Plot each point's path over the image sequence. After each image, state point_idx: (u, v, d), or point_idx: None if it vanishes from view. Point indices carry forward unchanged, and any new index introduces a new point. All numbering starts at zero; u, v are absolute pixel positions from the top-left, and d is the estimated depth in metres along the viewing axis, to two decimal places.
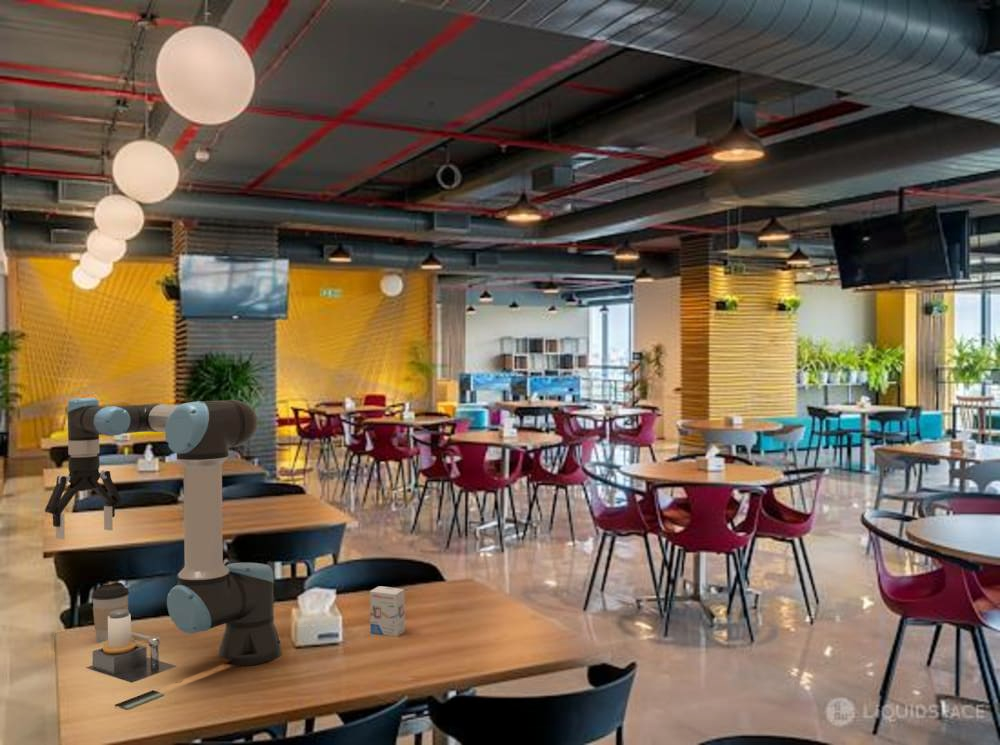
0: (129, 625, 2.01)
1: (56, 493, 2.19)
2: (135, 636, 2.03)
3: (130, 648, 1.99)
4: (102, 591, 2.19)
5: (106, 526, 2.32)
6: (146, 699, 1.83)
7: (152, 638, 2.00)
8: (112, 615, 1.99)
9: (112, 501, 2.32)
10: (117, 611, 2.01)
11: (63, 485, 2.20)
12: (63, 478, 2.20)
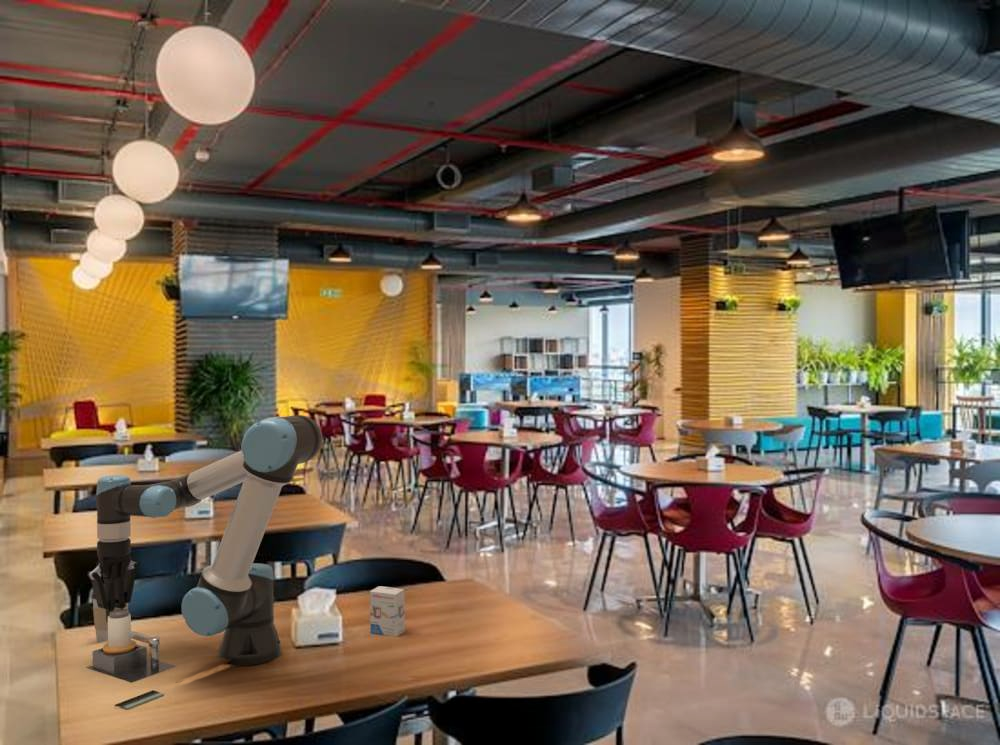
0: (129, 625, 2.01)
1: (98, 590, 2.02)
2: (136, 636, 2.03)
3: (130, 648, 1.99)
4: None
5: None
6: (146, 699, 1.83)
7: (152, 638, 2.00)
8: (112, 615, 1.99)
9: (122, 601, 2.07)
10: (117, 611, 2.01)
11: (99, 580, 2.02)
12: (94, 575, 2.01)
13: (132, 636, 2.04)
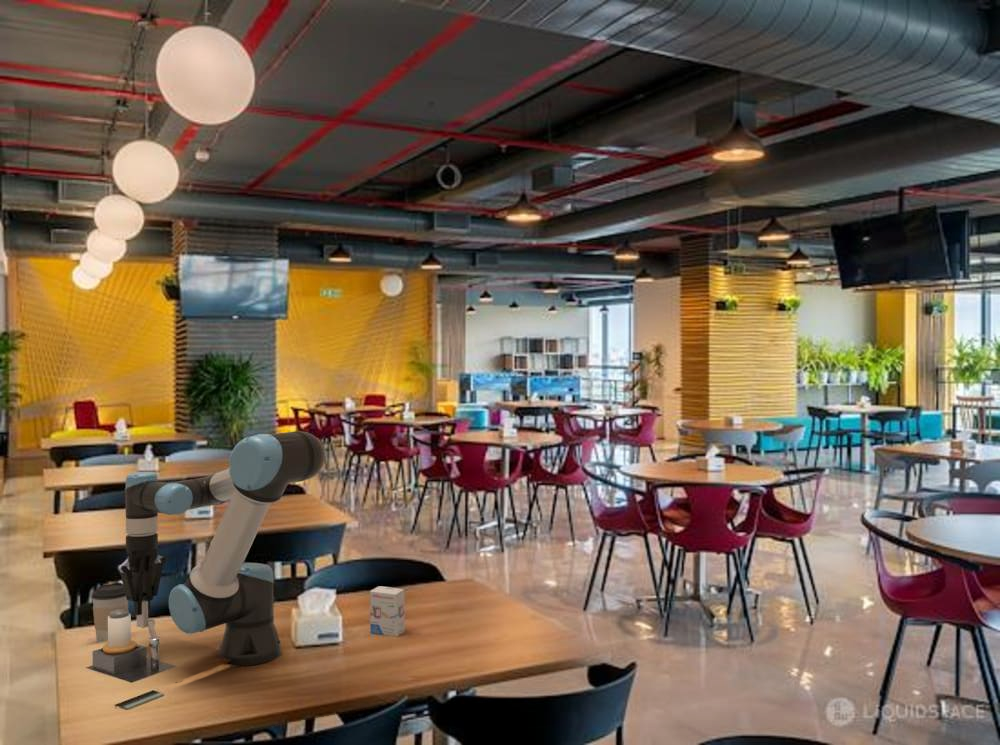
0: (129, 625, 2.01)
1: (127, 583, 2.09)
2: (150, 632, 2.05)
3: (130, 648, 1.99)
4: (102, 591, 2.19)
5: None
6: (146, 699, 1.83)
7: (152, 638, 2.00)
8: (112, 615, 1.99)
9: (150, 594, 2.13)
10: (117, 611, 2.01)
11: (128, 573, 2.08)
12: (124, 568, 2.07)
13: (149, 632, 2.07)
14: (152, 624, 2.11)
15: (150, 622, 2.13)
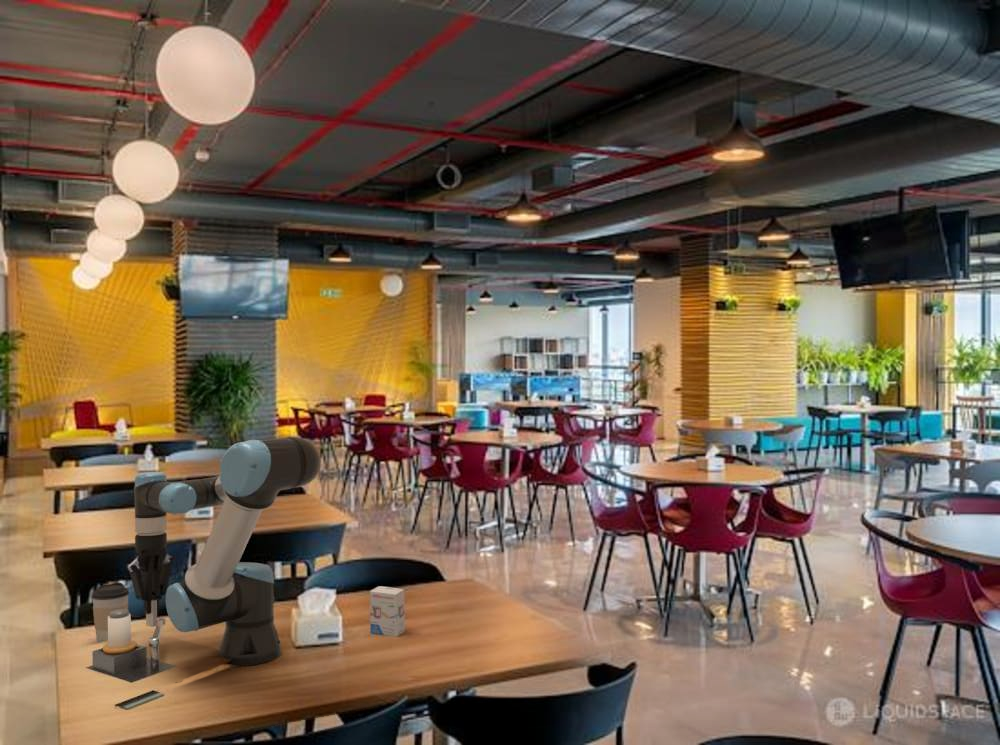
0: (129, 625, 2.01)
1: (136, 582, 2.10)
2: None
3: (130, 648, 1.99)
4: (102, 591, 2.19)
5: None
6: (146, 699, 1.83)
7: (153, 638, 2.00)
8: (112, 615, 1.99)
9: (158, 593, 2.15)
10: (117, 611, 2.01)
11: (137, 572, 2.10)
12: (133, 567, 2.09)
13: None
14: (160, 623, 2.12)
15: (160, 621, 2.13)
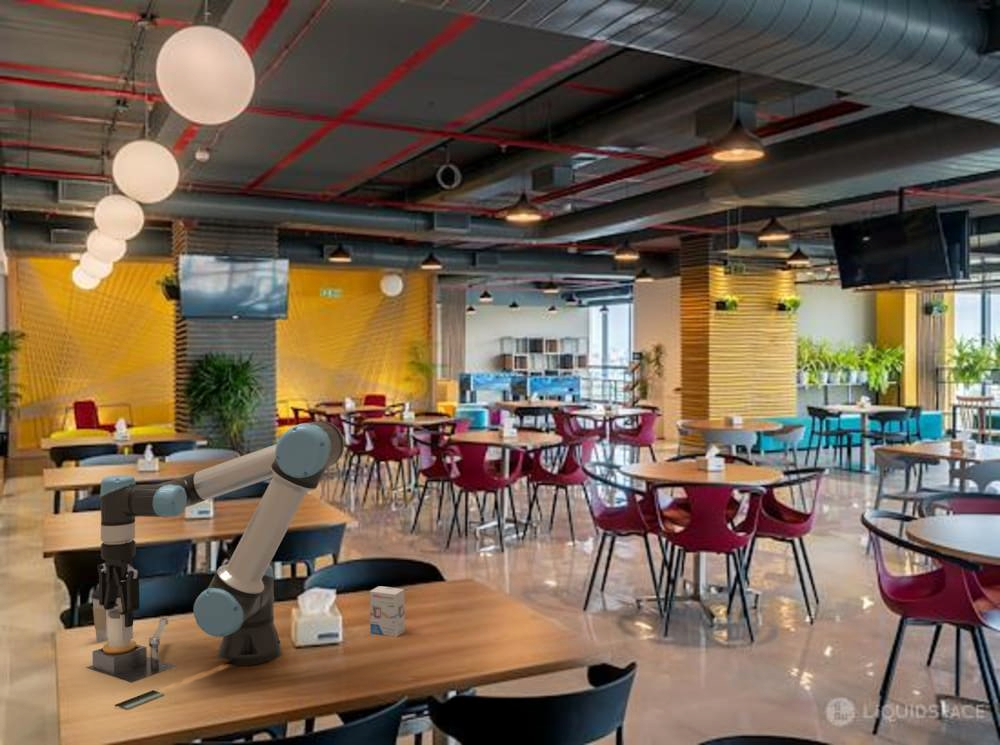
0: None
1: None
2: (156, 632, 2.06)
3: (130, 648, 1.99)
4: None
5: None
6: (146, 699, 1.83)
7: (153, 638, 2.00)
8: (112, 615, 1.99)
9: (124, 608, 1.98)
10: (117, 611, 2.01)
11: (100, 574, 2.02)
12: (98, 567, 2.03)
13: None
14: (163, 623, 2.12)
15: (163, 621, 2.14)
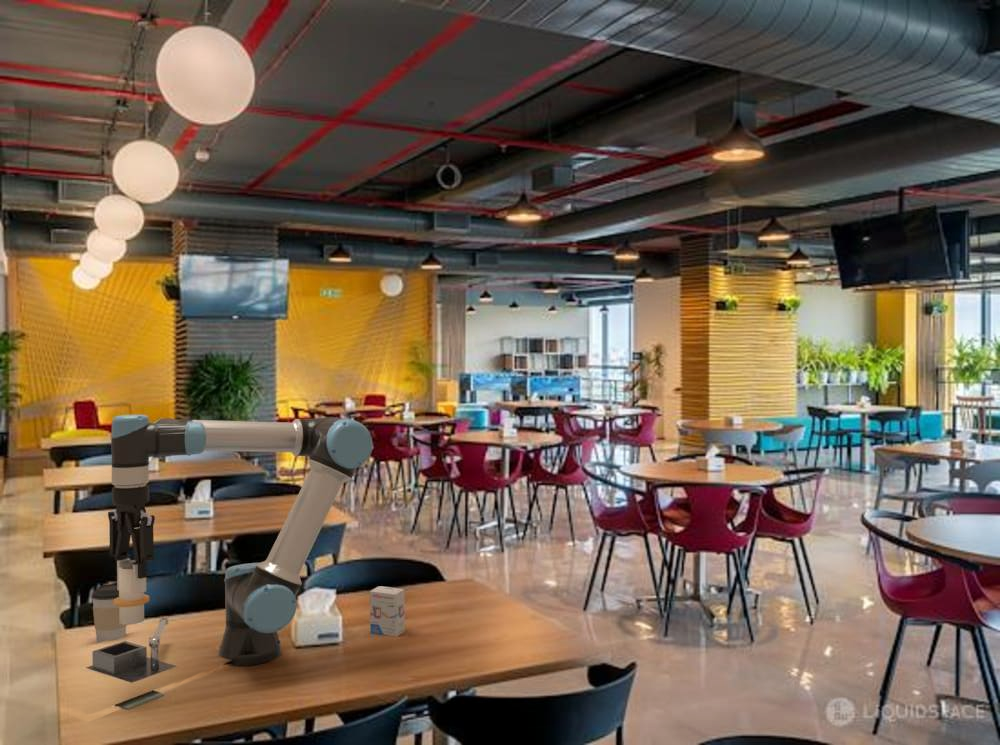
0: None
1: None
2: (156, 632, 2.06)
3: (143, 601, 1.83)
4: (102, 591, 2.19)
5: None
6: (146, 699, 1.83)
7: (153, 638, 2.00)
8: (124, 565, 1.83)
9: (136, 557, 1.82)
10: (129, 562, 1.85)
11: (110, 522, 1.86)
12: (108, 514, 1.87)
13: None
14: (163, 623, 2.12)
15: (163, 621, 2.14)
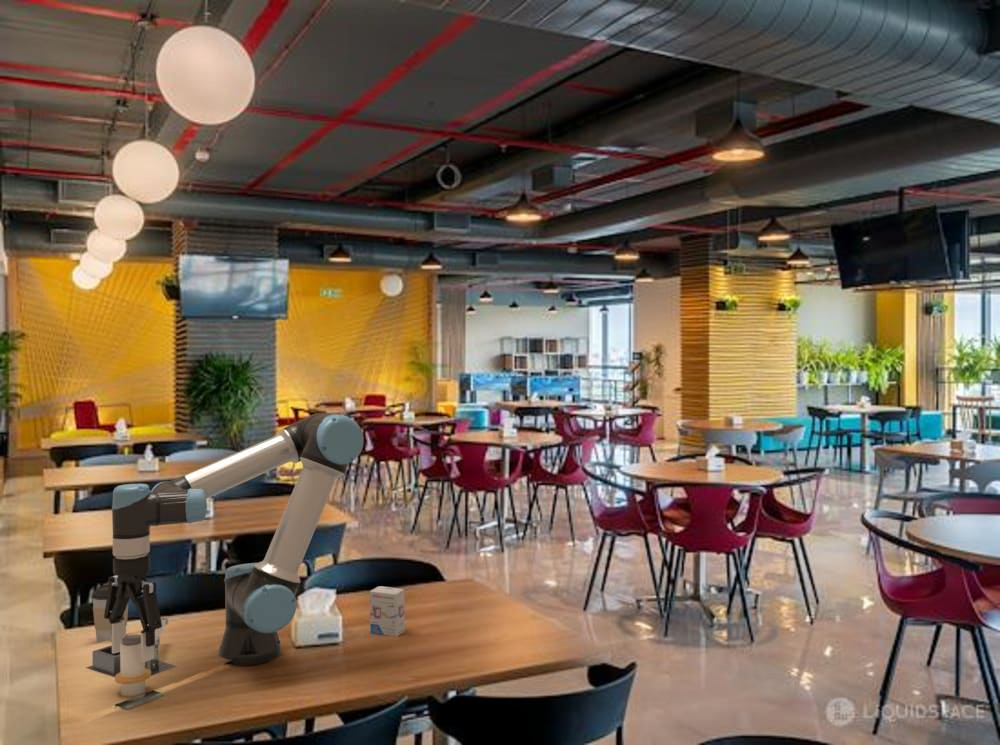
0: None
1: None
2: (156, 632, 2.06)
3: (144, 678, 1.83)
4: (102, 591, 2.19)
5: None
6: (146, 699, 1.83)
7: None
8: (125, 642, 1.83)
9: (144, 626, 1.81)
10: (130, 637, 1.85)
11: (110, 587, 1.87)
12: (108, 579, 1.87)
13: None
14: (163, 623, 2.12)
15: (163, 621, 2.14)
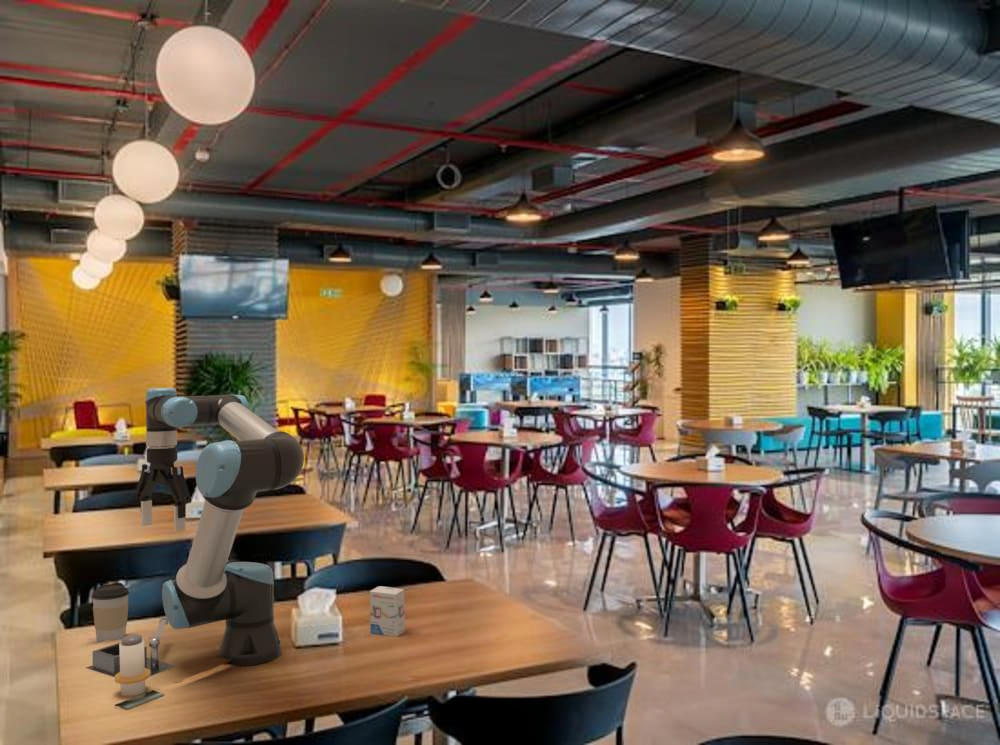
0: (142, 652, 1.85)
1: None
2: (156, 632, 2.06)
3: (144, 678, 1.83)
4: (102, 591, 2.19)
5: None
6: (146, 699, 1.83)
7: (153, 638, 2.00)
8: (124, 642, 1.83)
9: (176, 500, 2.15)
10: (129, 637, 1.85)
11: (142, 473, 2.22)
12: (142, 466, 2.22)
13: None
14: (163, 623, 2.12)
15: (163, 621, 2.14)
